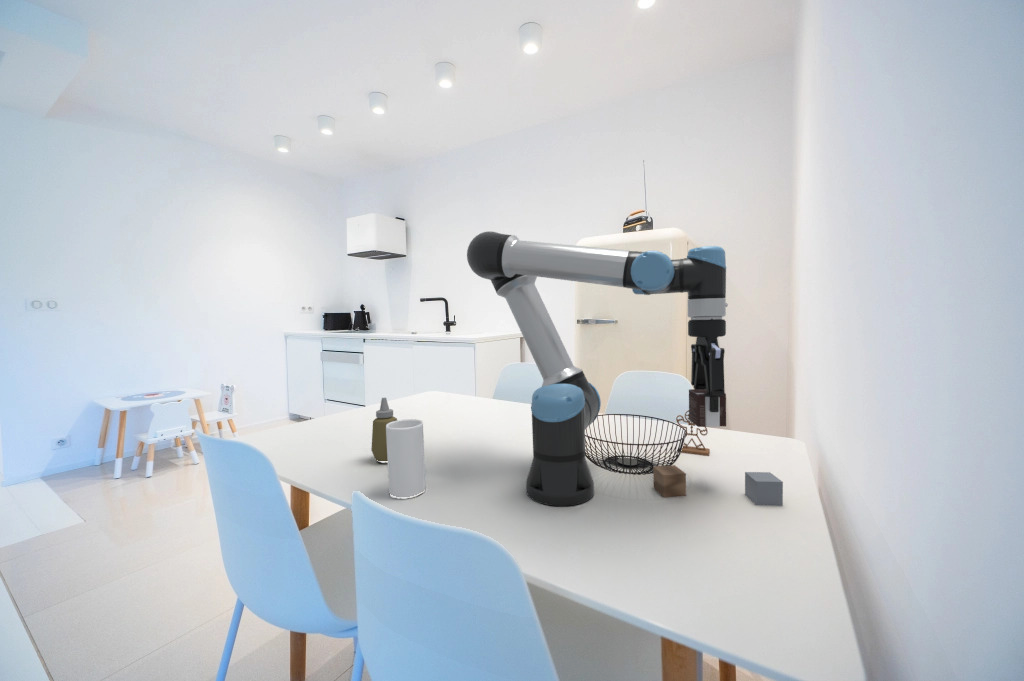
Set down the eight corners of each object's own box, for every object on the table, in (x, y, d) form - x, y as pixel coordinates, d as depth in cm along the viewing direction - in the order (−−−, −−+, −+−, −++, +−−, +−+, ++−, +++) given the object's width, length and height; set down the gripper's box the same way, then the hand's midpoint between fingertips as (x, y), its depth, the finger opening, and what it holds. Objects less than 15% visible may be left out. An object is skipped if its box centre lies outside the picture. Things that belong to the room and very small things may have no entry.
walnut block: (663, 497, 87) (663, 475, 86) (653, 488, 92) (653, 466, 91) (686, 496, 87) (685, 473, 87) (674, 486, 92) (674, 465, 92)
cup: (432, 487, 96) (430, 420, 95) (410, 502, 88) (407, 429, 87) (405, 482, 99) (402, 418, 98) (381, 496, 92) (377, 426, 91)
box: (715, 420, 93) (715, 388, 93) (727, 427, 87) (726, 393, 87) (688, 420, 94) (688, 389, 93) (697, 427, 88) (697, 394, 87)
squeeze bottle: (396, 465, 111) (393, 400, 110) (367, 466, 111) (364, 401, 110) (405, 455, 119) (402, 394, 118) (377, 456, 119) (374, 395, 118)
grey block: (756, 505, 82) (756, 481, 82) (745, 494, 87) (745, 471, 87) (782, 506, 81) (782, 481, 81) (769, 495, 86) (770, 472, 86)
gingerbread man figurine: (709, 451, 114) (709, 409, 113) (708, 456, 110) (708, 412, 110) (676, 447, 118) (675, 407, 118) (674, 451, 115) (673, 410, 114)
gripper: (744, 318, 79) (743, 434, 80) (708, 317, 98) (709, 412, 99) (703, 319, 80) (704, 434, 81) (676, 318, 99) (677, 412, 100)
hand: (706, 421), depth 90 cm, fingers closed on box, 6 cm apart
